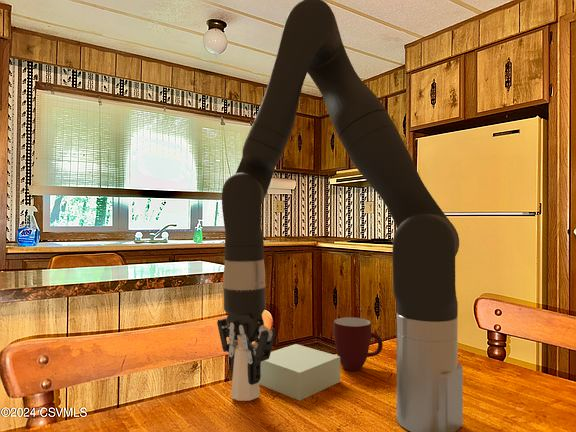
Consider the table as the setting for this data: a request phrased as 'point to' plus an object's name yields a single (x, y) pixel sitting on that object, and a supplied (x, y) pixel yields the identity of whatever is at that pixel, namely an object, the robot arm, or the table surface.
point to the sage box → (299, 371)
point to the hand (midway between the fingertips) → (245, 379)
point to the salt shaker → (242, 376)
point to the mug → (354, 342)
